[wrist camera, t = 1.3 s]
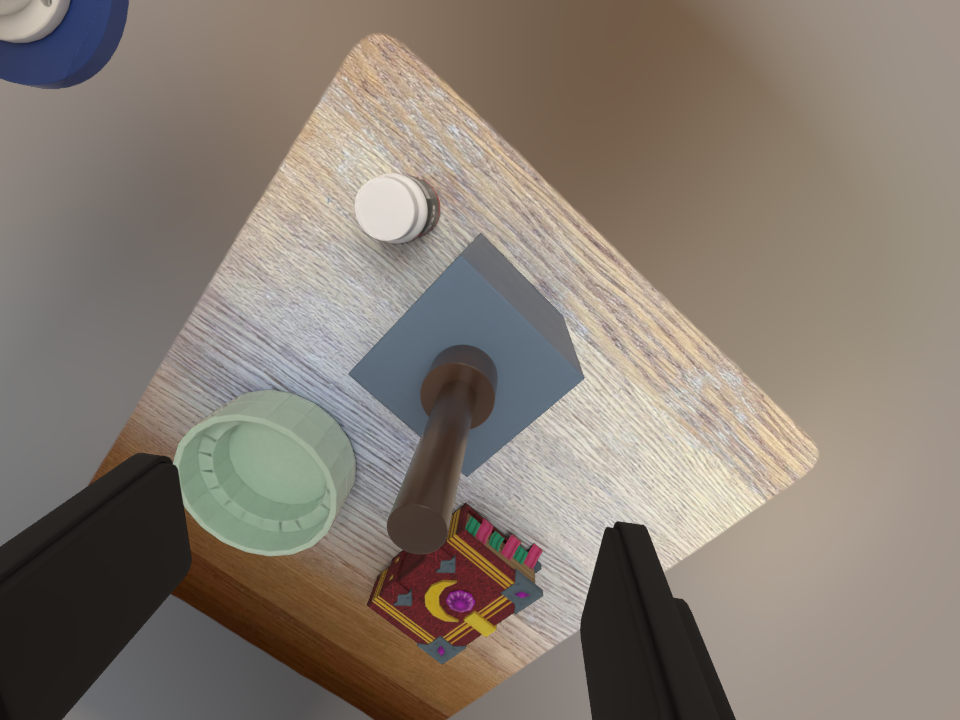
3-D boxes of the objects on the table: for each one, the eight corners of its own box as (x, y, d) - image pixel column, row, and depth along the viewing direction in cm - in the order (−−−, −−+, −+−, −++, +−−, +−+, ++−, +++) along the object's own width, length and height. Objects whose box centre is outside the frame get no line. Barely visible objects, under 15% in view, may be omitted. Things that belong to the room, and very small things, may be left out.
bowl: (188, 450, 48) (143, 485, 42) (267, 356, 43) (229, 381, 37) (302, 537, 50) (275, 580, 45) (388, 457, 46) (369, 494, 40)
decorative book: (375, 572, 51) (361, 610, 47) (473, 491, 46) (467, 524, 42) (448, 628, 53) (442, 670, 49) (549, 556, 48) (552, 595, 44)
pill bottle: (416, 248, 38) (390, 263, 30) (373, 209, 37) (334, 213, 30) (453, 204, 37) (435, 208, 29) (408, 162, 36) (377, 154, 28)
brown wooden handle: (416, 375, 27) (331, 526, 15) (462, 330, 26) (410, 454, 14) (464, 419, 28) (422, 596, 16) (511, 377, 26) (504, 534, 14)
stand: (403, 315, 40) (347, 374, 27) (481, 232, 37) (460, 254, 24) (483, 389, 42) (466, 477, 29) (563, 316, 39) (585, 378, 26)
